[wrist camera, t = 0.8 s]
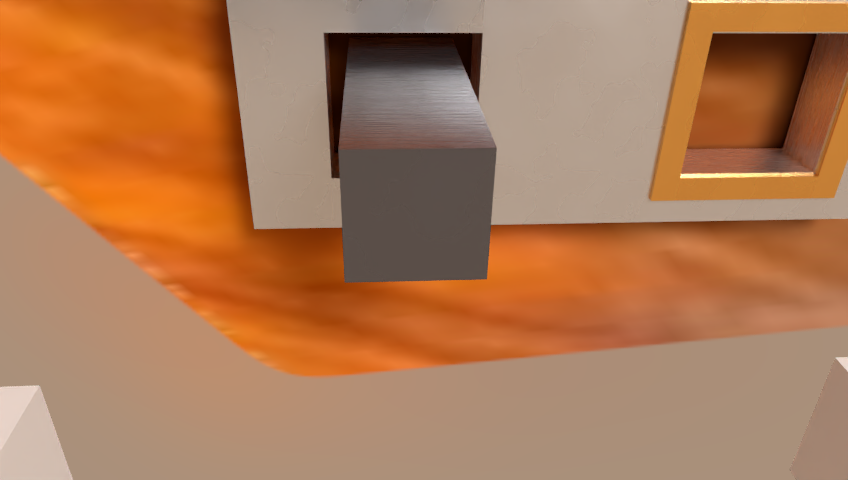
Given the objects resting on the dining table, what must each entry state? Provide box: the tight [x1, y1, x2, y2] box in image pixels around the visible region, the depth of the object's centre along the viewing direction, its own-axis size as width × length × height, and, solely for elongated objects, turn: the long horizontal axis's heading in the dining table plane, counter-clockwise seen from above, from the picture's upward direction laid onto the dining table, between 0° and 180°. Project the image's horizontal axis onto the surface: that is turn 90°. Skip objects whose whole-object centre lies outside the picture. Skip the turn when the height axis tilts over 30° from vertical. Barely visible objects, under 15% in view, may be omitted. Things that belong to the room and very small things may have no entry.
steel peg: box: [338, 37, 497, 282], centre depth 23 cm, size 4×4×11 cm
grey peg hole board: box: [226, 0, 848, 229], centre depth 27 cm, size 10×26×3 cm, turn 89°
